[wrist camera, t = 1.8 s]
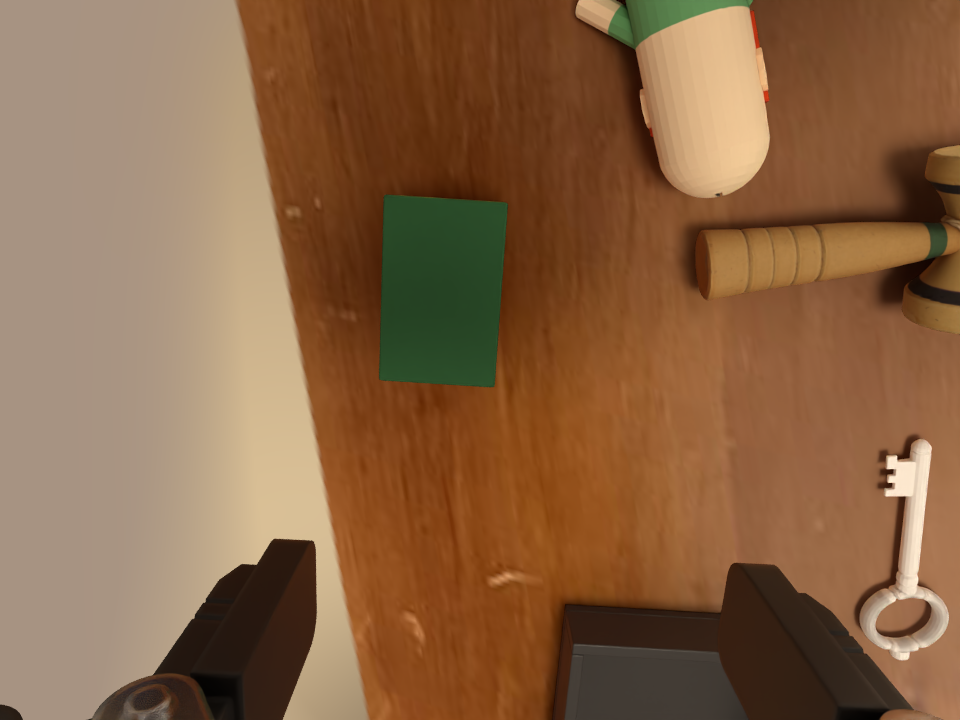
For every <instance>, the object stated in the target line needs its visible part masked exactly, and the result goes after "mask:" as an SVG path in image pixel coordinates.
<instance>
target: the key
mask: <svg viewBox="0 0 960 720" xmlns="http://www.w3.org/2000/svg"><path fill="white" fill-rule="evenodd" d="M931 451H932V447H931V446H930V444H929V443H928V442H927V441H926V440H924V439H918V440H916V441H914V442H913V443H912V444H911V450H910V458H908V459H901V460H897V456H896V455H887V456H886V465H885V468H886V469H894V472H893V474H889V475H887V482H888V483H892V488H884V496H906V499H905V508H904V517H903V526H902V535H901V544H900V553H899V563H898V568H899V571H898V572H897V574H896V579H897V581H896V585H892V586H889V589H881V590H879V591H877V592H876V593H874V594H873V595H872V596H871V597H870V598H868V599H867V601H866V602H865V603H864V605H863V607H862V609H861V612H860V625H861V628H862V631H863V632H864V634H865V635H866V637H867V638H868V639H869V640H870V641H871V642H873V643H874V644H875V645H877V646H879V647H881V648H883V649H889V653H890V654H891V655H892V656H893V657H894V658H895V659H898V660H907V659H909V655H910V652H911V651H917V650H918V648H919V647H921V648H924V647H927V646H929V645H931V644H932V643H934V642H935V641H936V640H938V639H939V638H940V637H941V636H942V634H943V633H944V631H945V629H946V628H947V625H948V621H949V614H948V610H947V607H946V605H945V603H944V602H943V600H942V599H941V598H940V597H939V596H938V595H937V594H935V593H934V592H932V591H931V590H929V589H927V588H924V587H919V586H917V584H918V576H917V573H918V570H919V561H920V551H921V542H922V532H923V523H924V514H925V504H926V495H927V486H928V477H929V468H930V460H931ZM905 598H918V599H924V600H926V601H927V602H929V604H930V605H931V608H932V613H931V617H930V619H929V621H928V622H927V624H926V625H925V626H924V627H923V628H921V629H920V630H919V631H917V632H915V633H913V634H912V635H911V637H909V636H904V637H898V638H892V637H885V636H882V635H881V634H879V633H878V632H877V631H876V628H875V622H876V619H877V617H878V615H879V613H880V612H881V611H882V610H883V609H884V608H885V607H886V606H888V605H889V604H891V603H893V602H895V600H896V599H899V600H902V599H905Z"/></svg>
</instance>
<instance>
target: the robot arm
mask: <svg viewBox="0 0 960 720" xmlns="http://www.w3.org/2000/svg"><path fill="white" fill-rule="evenodd" d="M316 614H317V603H316V549H315V544H314V542H313V541H309V540H308V541H307V540H289V539H288V540H287V539H273V540H272V541H271V543H270V544H269V546H268V548H267V549H266V551H265V552H264V554H263V556H262V557H261V559H260V560H259V562H258V564H257V565H249V564H241V565H240V566H238V567H237V568H235V569H234V570H233V571H231V572H230V573H228V574H227V575H225V576H224V577H223V578H221V579H220V580H219V581H218V583H217V584H216V585H215V587H214V588H213V590H212V591H211V592H210V594H209V595H208V597H207V598H206V602H205V603H203V604H202V605H201V607H200V608H199V610H198V611H197V613H196V614H195V618H194V619H192V620H191V621H190V623H189V624H188V626H187V627H186V628H185V630H184V631H183V633H182V634H181V636H180V637H179V638H178V640H177V641H176V643H175V644H174V646H173V647H172V649H171V650H170V651H169V653H168V655H167V656H166V657H165V659H164V660H163V662H162V663H161V664H160V666H159V667H158V669H157V670H156V672H155V673H154V674H153V675H152V676H148V677H145V678H141V679H139V680H136V681H134V682H131V683H129V684H128V685H126V686H124V687H122V688H120V689H119V690H117V691H116V692H114V693H113V694H112V695H111V696H109V697H108V698H107V699H106V700H105V701H104V702H103V703H102V704H101V705H100V706H99V708H98V709H97V711H96V712H95V714H94V716H93V718H92V719H89V720H283V717H284V715H285V712H286V709H287V707H288V704H289V702H290V699H291V696H292V694H293V691H294V689H295V686H296V684H297V681H298V678H299V676H300V673H301V671H302V668H303V666H304V663H305V660H306V658H307V655H308V653H309V650H310V647H311V644H312V641H313V637H314V632H315V625H316ZM718 652H719V657H720V661H721V664H722V667H723V669H724V671H725V673H726V675H727V677H728V679H729V681H730V683H731V685H732V687H733V689H734V691H735V693H736V695H737V697H738V699H739V701H740V703H741V705H742V707H743V709H744V711H745V713H746V715H747V717H748V719H749V720H942V719H940V718H938V717H935V716H933V715H930V714H927V713H923V712H920V711H915V710H914V709H913V708H912V707H911V706H910V705H909V703H908V702H907V701H906V700H905V699H904V697H903V696H902V695H901V694H900V693H899V692H898V690H897V689H896V688H895V687H894V686H893V684H892V683H891V682H890V681H889V680H888V678H887V677H886V676H885V675H884V674H883V672H882V671H881V670H880V669H879V668H878V666H877V665H876V664H875V663H874V662H873V660H872V659H871V658H870V657H869V656H868V655H867V654H864V653H863V649H862V647H861V646H860V645H859V644H858V643H857V641H856V640H855V639H854V638H853V637H852V636H849V632H848V631H847V629H846V628H845V627H844V626H843V625H842V623H841V622H840V621H839V620H838V619H837V618H836V616H835V615H834V614H833V613H832V612H831V611H830V610H829V609H827V608H826V607H824V606H823V605H821V604H820V603H819V602H817V601H816V600H814V599H813V598H812V597H810V596H809V595H807V594H806V593H798V592H797V591H796V590H795V588H794V587H793V586H792V584H791V583H790V582H789V581H788V579H787V578H786V577H785V576H784V574H783V573H782V572H781V571H780V569H779V568H778V567H777V566H775V565H768V564H748V563H734V564H732V565H731V567H730V568H729V571H728V576H727V581H726V587H725V593H724V599H723V605H722V611H721V616H720V622H719V628H718ZM0 720H23V719H22V717H21V715H20V713H19V712H18V711H17V710H16V709H14V708H12V707H9V706H5V705H0Z"/></svg>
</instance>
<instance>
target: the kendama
mask: <svg viewBox="0 0 960 720" xmlns="http://www.w3.org/2000/svg"><path fill="white" fill-rule="evenodd" d="M925 178H926V179H927V180H928V181H929V182H930V183H931V184H932V185H933V187H934V188H935V189H936V190H937V192H938V193H939V195H940V197H941V199H942V200H943V203H944V207H945V211H946V213H947V215H945V216H943V218H941V221H942V222H938V223H929V222H850V223H830V224H817V225H812V226H810V225H800V226H789V227H768V228H749V229H742V230H738V229H720V230H702V231H701V232H700V233H699V234H698V237H697V240H696V248H695V264H696V276H697V282H698V286H699V290H700V293H701V295H702V296H703V298H704V299H705V300H713V299H718V298H723V297H728V296H733V295H738V294H742V293H743V292H746V293H749V292H755V291H760V290H765V289H772V288H779V287H786V286H788V285H798V284H804V283H811V282H813V281H824V280H830V279H837V278H843V277H849V276H854V275H859V274H865V273H870V272H875V271H879V270H883V269H888V268H892V267H896V266H901V265H905V264H909V263H914V262H918V261H922V260H927V259H930V258H934V257H936V258H935V260H934V261H933V262H932V264H931V265H930V266H929V267H928V268H927V269H926V270H925V271H924V272H923V273H922V274H920V275H918V276H917V277H916V278H915V279H913V280H912V281H910V282H908V283H907V284H906V285H905V287H904V293H903V306H902V312H903V314H904V316H905V317H906V318H907V319H909V320H911V321H912V322H914V323H916V324H918V325H921V326H924V327H927V328H930V329H934V330H938V331H943V332H948V333H954V334H960V145H956V146H950V147H945V148H941V149H937V150H935V151H933V152H931V153H929V158H928V162H927V166H926V170H925Z"/></svg>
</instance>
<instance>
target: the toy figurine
mask: <svg viewBox="0 0 960 720" xmlns="http://www.w3.org/2000/svg"><path fill="white" fill-rule="evenodd" d="M752 1H753V0H626V5H627V6H625V5H624V4H622V3H620V2H618V1H616V0H579V1H578V4H577V7H576V11H575V14H576V17H577V18H579V19H581V20H583V21H585V22H586V23H588V24H590V25H592V26H594V27H595V28H597V29H599V30H601V31H603V32H604V33H606V34H608V35H610V36H612V37H613V38H615V39H617V40H619V41H621V42H623V43H624V44H626V45H628V46H630V47H632V48H633V49H635V50H636V54H637V59H638V64H639V69H640V74H641V79H642V84H643V88H644V89H641V90H640V100H641V106H642V111H643V115H644V119H645V123H646V125H647V127H648V128H649V130H650V134H651V137H654V142H655V146H656V150H657V155H658V159H659V164H660V168H661V170H662V172H663V174H664V176H665V177H666V179H667V180H668V181H669V182H670V183H671V184H672V185H673V186H674V187H675V188H677V189H678V190H679V191H681V192H683V193H685V194H688V195H690V196H694V197H699V198H714V197H720V194H719V193H722V192H723V194H722V195H723V196H724V195H727V194H729V193H732V192H734V191H736V190H737V189H739V188H741V187H742V186H744V185H745V184H746V183H747V182H748V181H750V180H751V179H752V178H753V176H754V175H755V174H756V173H757V172H758V170H759V169H760V167H761V165H762V164H763V162H764V160H765V157H766V154H767V151H768V148H769V141H770V135H769V128H768V121H767V113H766V106H765V103H766V102H768V101H769V95H768V84H767V75H766V69H765V64H764V58H763V53H762V48H761V47H760V46H759V40H758V34H757V28H756V22H755V16H754V10H753V11H750V10H749V6H750V5H751V3H752Z"/></svg>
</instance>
